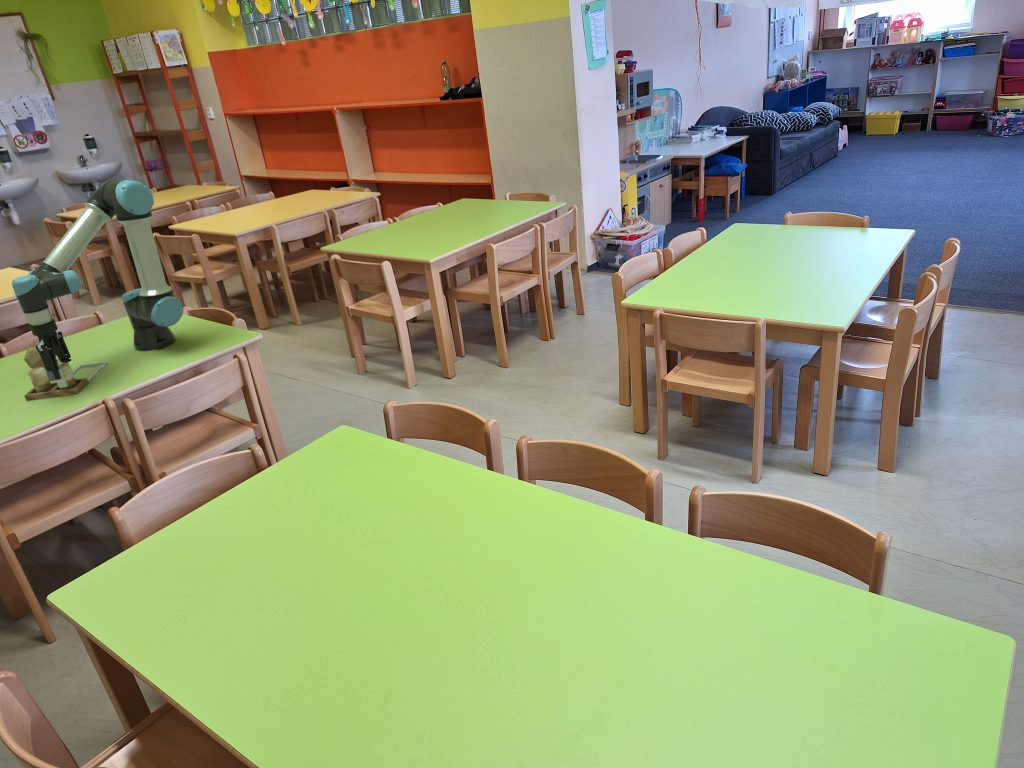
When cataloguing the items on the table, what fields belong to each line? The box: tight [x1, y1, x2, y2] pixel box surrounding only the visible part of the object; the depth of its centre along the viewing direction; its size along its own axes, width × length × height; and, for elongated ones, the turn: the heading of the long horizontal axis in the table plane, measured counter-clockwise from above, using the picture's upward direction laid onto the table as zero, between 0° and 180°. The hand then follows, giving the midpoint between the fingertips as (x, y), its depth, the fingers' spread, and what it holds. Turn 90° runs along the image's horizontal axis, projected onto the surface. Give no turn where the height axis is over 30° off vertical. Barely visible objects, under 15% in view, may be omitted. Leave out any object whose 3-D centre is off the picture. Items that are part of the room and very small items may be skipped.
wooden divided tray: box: [23, 377, 90, 402], centre depth 252 cm, size 18×9×3 cm, turn 95°
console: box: [45, 369, 56, 382], centre depth 265 cm, size 7×7×4 cm
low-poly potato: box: [23, 346, 57, 370], centre depth 275 cm, size 15×11×12 cm
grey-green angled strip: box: [72, 361, 109, 383], centre depth 265 cm, size 10×16×2 cm, turn 5°
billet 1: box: [27, 367, 52, 393], centre depth 250 cm, size 5×5×9 cm
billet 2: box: [58, 363, 77, 390], centre depth 250 cm, size 5×5×9 cm
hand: (67, 383), depth 251 cm, fingers closed on billet 2, 5 cm apart
